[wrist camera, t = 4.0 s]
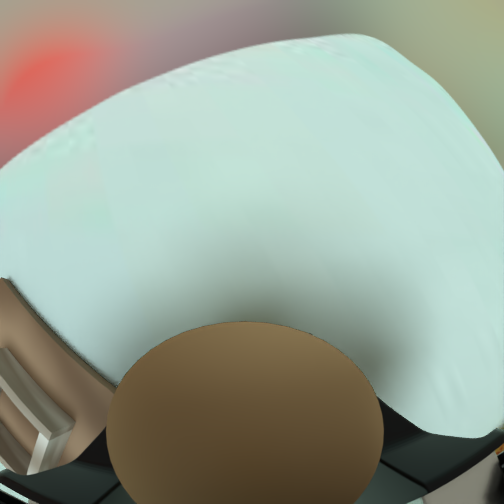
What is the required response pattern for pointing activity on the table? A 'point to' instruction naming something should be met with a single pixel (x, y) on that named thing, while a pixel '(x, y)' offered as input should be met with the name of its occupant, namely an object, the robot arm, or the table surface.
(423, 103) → the table surface
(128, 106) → the table surface
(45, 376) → the cup bracket
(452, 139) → the table surface
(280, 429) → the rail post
